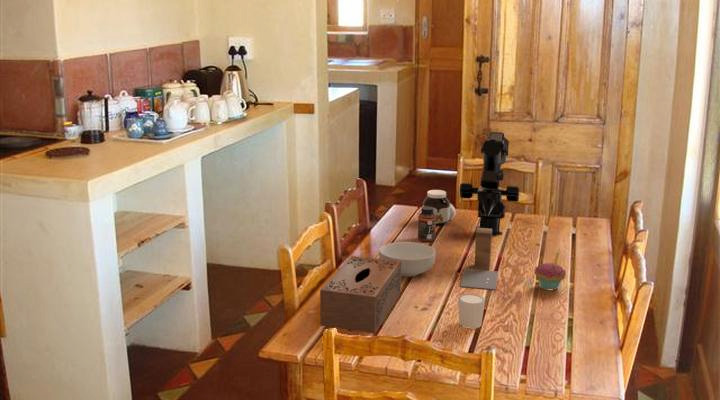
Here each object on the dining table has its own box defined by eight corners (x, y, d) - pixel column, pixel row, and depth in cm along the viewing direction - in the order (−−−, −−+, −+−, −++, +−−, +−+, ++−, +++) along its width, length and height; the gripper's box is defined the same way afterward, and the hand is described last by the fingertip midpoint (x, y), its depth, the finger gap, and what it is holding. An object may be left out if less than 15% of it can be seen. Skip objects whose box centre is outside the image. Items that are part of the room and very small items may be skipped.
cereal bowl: (442, 267, 228) (443, 245, 226) (423, 286, 214) (424, 263, 212) (391, 258, 235) (391, 237, 233) (369, 276, 221) (370, 254, 219)
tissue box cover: (351, 288, 212) (351, 255, 210) (400, 294, 208) (401, 261, 206) (320, 326, 189) (320, 289, 186) (375, 334, 185) (375, 297, 182)
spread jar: (420, 225, 268) (421, 194, 265) (423, 216, 279) (424, 186, 276) (454, 227, 267) (455, 196, 263) (455, 218, 277) (457, 187, 274)
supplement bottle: (434, 243, 250) (435, 210, 247) (416, 241, 251) (417, 209, 248) (436, 237, 256) (437, 205, 252) (418, 236, 257) (419, 204, 254)
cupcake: (565, 284, 216) (568, 245, 213) (562, 295, 208) (566, 254, 205) (535, 280, 219) (538, 241, 215) (531, 291, 211) (534, 251, 208)
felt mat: (464, 269, 227) (464, 268, 226) (498, 272, 224) (498, 271, 224) (460, 286, 213) (460, 285, 213) (495, 290, 211) (495, 289, 211)
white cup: (454, 318, 193) (455, 293, 191) (480, 317, 194) (481, 293, 192) (459, 330, 186) (461, 304, 184) (486, 329, 187) (488, 304, 185)
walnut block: (475, 264, 231) (477, 227, 228) (490, 265, 230) (492, 228, 227) (474, 269, 227) (476, 232, 223) (489, 270, 226) (491, 233, 222)
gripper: (461, 158, 238) (456, 200, 230) (521, 161, 233) (517, 205, 226) (462, 176, 247) (458, 217, 240) (520, 179, 243) (516, 222, 236)
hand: (487, 215), depth 235 cm, fingers closed
